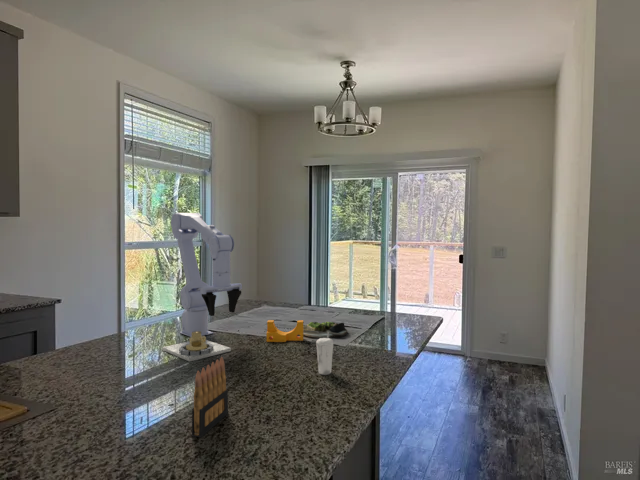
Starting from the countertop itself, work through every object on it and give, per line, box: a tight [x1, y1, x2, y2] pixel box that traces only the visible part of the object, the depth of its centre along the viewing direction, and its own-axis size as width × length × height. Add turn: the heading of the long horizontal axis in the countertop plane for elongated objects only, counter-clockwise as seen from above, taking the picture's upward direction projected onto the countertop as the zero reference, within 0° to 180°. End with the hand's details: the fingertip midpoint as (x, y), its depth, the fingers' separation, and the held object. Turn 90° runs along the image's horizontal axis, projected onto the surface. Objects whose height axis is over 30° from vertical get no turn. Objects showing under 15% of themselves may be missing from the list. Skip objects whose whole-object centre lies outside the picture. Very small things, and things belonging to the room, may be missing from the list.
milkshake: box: [315, 332, 335, 376], centre depth 113 cm, size 4×5×10 cm
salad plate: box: [303, 321, 348, 339], centre depth 155 cm, size 19×18×5 cm
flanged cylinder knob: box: [186, 331, 207, 351], centre depth 130 cm, size 6×6×6 cm
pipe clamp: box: [265, 319, 304, 343], centre depth 146 cm, size 12×4×6 cm, turn 89°
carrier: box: [162, 335, 232, 363], centre depth 133 cm, size 16×14×4 cm
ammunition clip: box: [191, 356, 229, 438], centre depth 84 cm, size 11×2×12 cm, turn 164°
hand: (221, 313), depth 141 cm, fingers open, 7 cm apart
